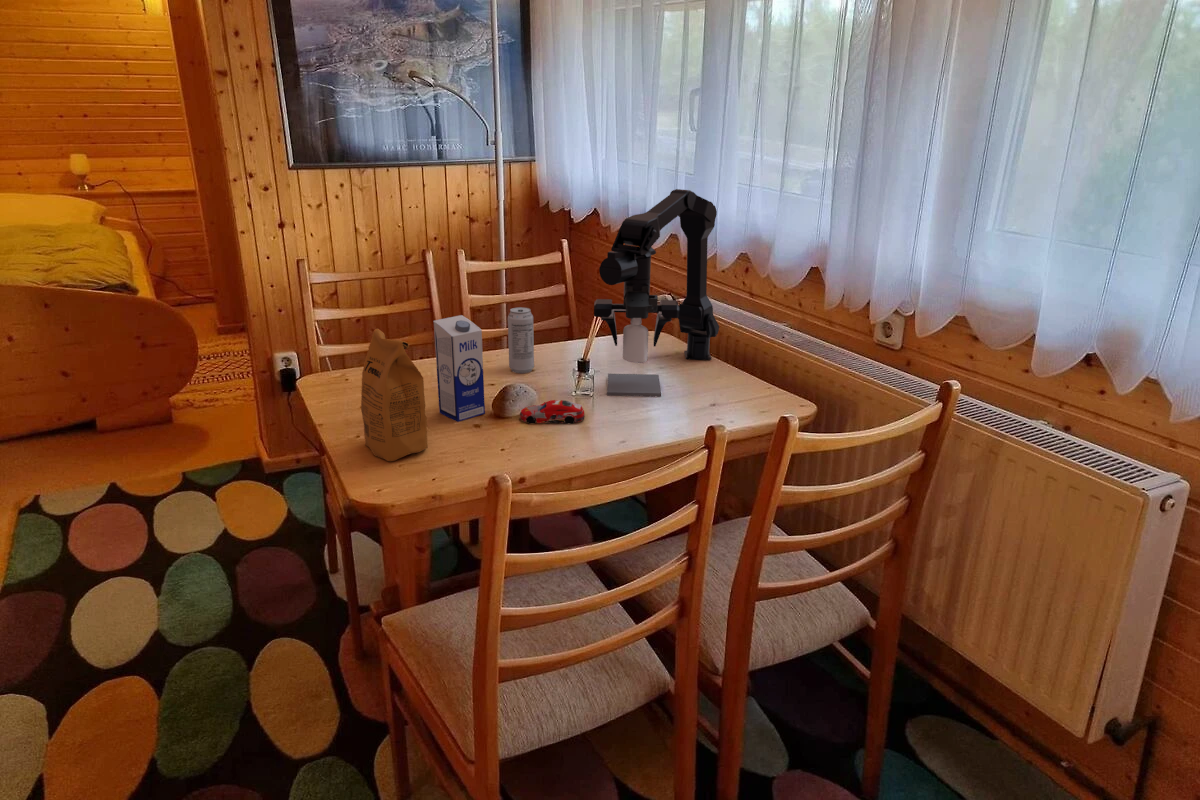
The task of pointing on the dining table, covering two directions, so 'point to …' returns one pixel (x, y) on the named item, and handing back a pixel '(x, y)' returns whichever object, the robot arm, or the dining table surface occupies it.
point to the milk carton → (459, 368)
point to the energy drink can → (521, 340)
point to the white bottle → (635, 342)
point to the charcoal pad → (633, 385)
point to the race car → (553, 412)
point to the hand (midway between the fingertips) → (635, 345)
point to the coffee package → (392, 400)
